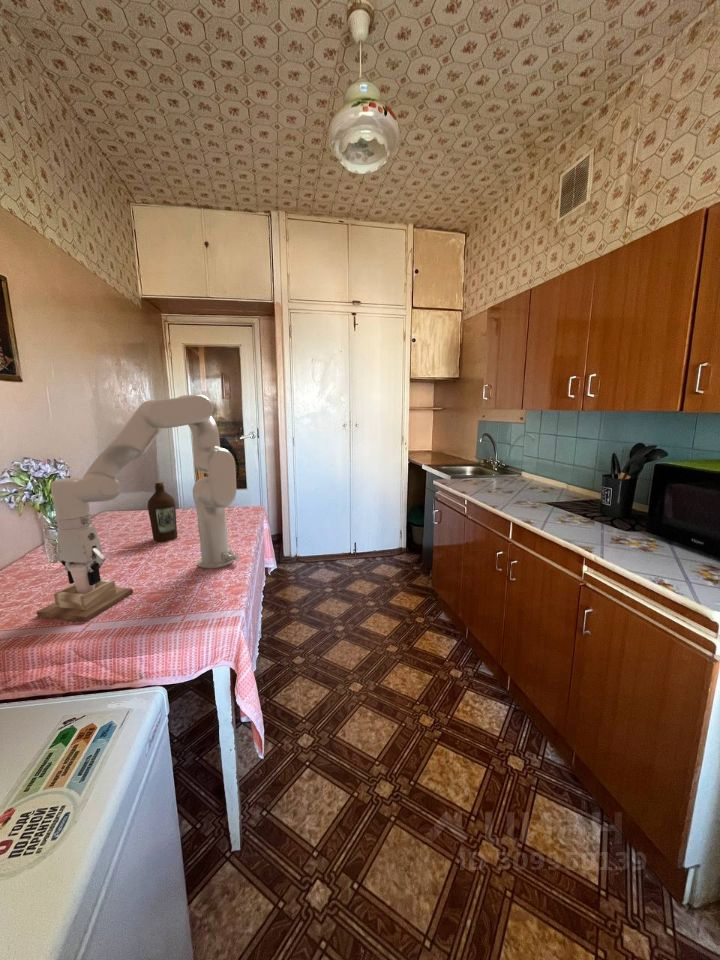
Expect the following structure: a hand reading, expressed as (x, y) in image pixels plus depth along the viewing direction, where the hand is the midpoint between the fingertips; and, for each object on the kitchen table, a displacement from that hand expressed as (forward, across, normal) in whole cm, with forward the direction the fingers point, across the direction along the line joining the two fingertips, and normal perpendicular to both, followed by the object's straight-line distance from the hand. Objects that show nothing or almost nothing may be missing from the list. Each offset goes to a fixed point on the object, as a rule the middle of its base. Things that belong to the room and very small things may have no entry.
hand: (85, 581), depth 108 cm
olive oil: (+7, +17, -54) cm, 57 cm away
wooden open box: (+7, 0, 0) cm, 7 cm away
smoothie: (+4, 0, 0) cm, 4 cm away
